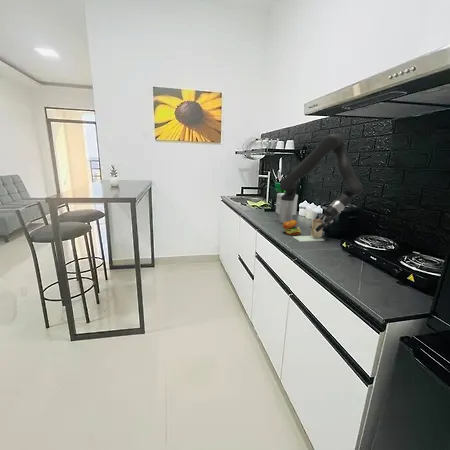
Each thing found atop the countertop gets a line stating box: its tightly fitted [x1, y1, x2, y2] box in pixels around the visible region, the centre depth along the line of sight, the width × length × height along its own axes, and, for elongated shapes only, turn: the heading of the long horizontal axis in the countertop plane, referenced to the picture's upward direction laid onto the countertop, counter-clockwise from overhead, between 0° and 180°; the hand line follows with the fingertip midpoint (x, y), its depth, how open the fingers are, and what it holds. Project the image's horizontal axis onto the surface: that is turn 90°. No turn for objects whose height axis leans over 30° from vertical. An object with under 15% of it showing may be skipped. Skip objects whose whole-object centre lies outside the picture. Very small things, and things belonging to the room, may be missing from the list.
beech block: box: [310, 218, 324, 238], centre depth 150 cm, size 4×4×10 cm
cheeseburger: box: [282, 219, 302, 236], centre depth 160 cm, size 10×11×10 cm
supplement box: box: [275, 192, 299, 216], centre depth 219 cm, size 13×13×18 cm
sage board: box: [292, 235, 325, 243], centre depth 151 cm, size 16×9×1 cm, turn 103°
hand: (314, 229), depth 150 cm, fingers closed on beech block, 4 cm apart
